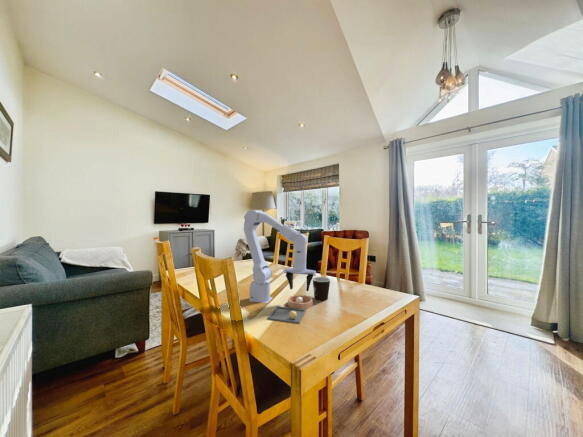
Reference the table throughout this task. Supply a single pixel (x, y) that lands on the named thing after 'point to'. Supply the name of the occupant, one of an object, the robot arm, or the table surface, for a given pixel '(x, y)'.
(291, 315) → the tan ball
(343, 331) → the table surface
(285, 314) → the parts tray
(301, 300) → the white ball
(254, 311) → the table surface
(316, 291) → the coffee mug
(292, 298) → the bowl
